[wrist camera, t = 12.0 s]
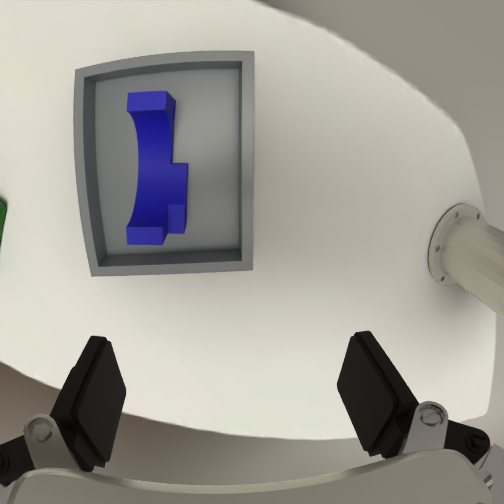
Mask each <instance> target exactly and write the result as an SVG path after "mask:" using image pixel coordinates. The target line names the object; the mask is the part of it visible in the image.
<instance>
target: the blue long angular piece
mask: <svg viewBox="0 0 504 504" xmlns="http://www.w3.org/2000/svg"><path fill="white" fill-rule="evenodd" d="M175 109H176V100H175V99H174V98H173V97H172V96H171V95H170V94H169V93H168V92H167V91H145V92H130V93H128V98H127V110H126V112H128V113H129V114H130V115H131V117H132V119H133V121H134V124H135V128H136V134H137V142H138V181H137V191H136V198H135V204H134V209H133V212H132V216H131V219H130V221H129V223H128V225H127V226H126V236H127V245H163V244H164V241H165V239H166V236H167V234H184V233H185V229H186V226H187V186H188V163H173V141H174V123H175Z"/></svg>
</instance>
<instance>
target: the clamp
mask: <svg viewBox="0 0 504 504" xmlns="http://www.w3.org/2000/svg"><path fill="white" fill-rule="evenodd" d="M5 213H6V207H5V205H4V204H3V203H2V202H1V201H0V239H1V233H2V228H3V222H4V217H5Z"/></svg>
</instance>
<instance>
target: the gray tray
mask: <svg viewBox="0 0 504 504" xmlns="http://www.w3.org/2000/svg"><path fill="white" fill-rule="evenodd" d="M145 91H167V92H168V93H169V94H170V95H171V96H172V97H173V98H174V99H175V100H176V109H175V123H174V141H173V163H188V186H187V226H186V229H185V233H184V234H167V236H166V239H165V241H164V244H163V245H127V236H126V226H127V225H128V223H129V221H130V219H131V216H132V212H133V209H134V204H135V198H136V191H137V181H138V142H137V134H136V128H135V124H134V121H133V119H132V117H131V115H130V114H129V113H128V112H126V110H127V98H128V93H130V92H145ZM73 121H74V155H75V170H76V182H77V192H78V201H79V209H80V216H81V223H82V229H83V235H84V241H85V247H86V252H87V257H88V262H89V267H90V271H91V276H127V275H157V274H182V273H206V272H227V271H247V270H253V172H254V51H193V52H178V53H166V54H157V55H149V56H141V57H134V58H128V59H122V60H116V61H111V62H106V63H101V64H97V65H92V66H88V67H84V68H80V69H76V70H75V83H74V116H73Z"/></svg>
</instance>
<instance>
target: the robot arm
mask: <svg viewBox="0 0 504 504" xmlns="http://www.w3.org/2000/svg"><path fill="white" fill-rule="evenodd" d="M429 268H430V272H431V274H432V276H433V277H434V279H435V280H436V281H438V282H439V283H440V284H442V285H445V286H451V285H455V284H457V283H458V284H459V285H461V286H462V287H463V288H465V289H466V290H467V291H469V292H470V293H471V294H473V295H474V296H475V297H477V298H478V299H479V300H480V301H482V302H483V303H484V304H486V305H487V306H488V307H489V308H491V309H492V310H493V311H494V312H496V313H497V314H498V315H499V316H501V317H502V318H503V319H504V232H503V231H501V230H499V229H497V228H495V227H493V226H491V225H489V224H487V223H484V220H483V217H482V215H481V213H480V212H479V210H478V209H477V208H475V207H474V206H471V205H469V204H459V205H457V206H455V207H453V208H452V209H450V210H449V211H448V212H447V213H446V214H445V215H444V216H443V218H442V219H441V221H440V222H439V224H438V226H437V228H436V230H435V232H434V234H433V237H432V240H431V244H430V248H429ZM337 389H338V392H339V394H340V396H341V399H342V401H343V403H344V405H345V408H346V410H347V412H348V415H349V417H350V419H351V422H352V424H353V426H354V429H355V431H356V433H357V436H358V438H359V440H360V443H361V445H362V447H363V450H364V451H368V453H369V456H375V455H378V454H381V455H382V457H383V460H382V461H378V462H375V463H372V464H368V465H364V466H360V467H356V468H352V469H348V470H344V471H340V472H335V473H331V474H326V475H320V476H315V477H309V478H303V479H297V480H290V481H282V482H273V483H263V484H250V485H228V486H227V485H226V486H201V485H200V486H199V485H177V484H164V483H153V482H146V481H138V480H131V479H124V478H117V477H112V476H106V475H101V474H96V473H93V472H92V471H93V469H94V466H98V467H103V468H104V467H105V463H106V462H108V461H109V460H110V457H111V452H112V448H113V443H114V439H115V435H116V431H117V427H118V423H119V419H120V415H121V412H122V408H123V404H124V400H125V397H126V387H125V384H124V382H123V379H122V376H121V373H120V370H119V367H118V364H117V361H116V357H115V354H114V351H113V347H112V344H111V342H110V341H107V339H106V337H101V336H91V337H90V338H89V340H88V342H87V344H86V346H85V348H84V350H83V352H82V354H81V356H80V357H79V359H78V361H77V363H76V365H75V366H74V367H73V368H72V369H71V371H70V373H69V375H68V377H67V379H66V381H65V383H64V385H63V387H62V390H61V392H60V394H59V396H58V398H57V400H56V402H55V405H54V407H53V409H52V411H51V414H50V416H48V415H44V414H39V415H35V416H33V417H31V418H30V419H29V420H28V421H27V422H26V424H25V425H24V429H23V432H24V435H22V436H20V437H18V438H15V439H13V440H11V441H8V442H6V443H4V444H1V445H0V504H504V449H502V448H501V447H499V446H498V445H496V444H493V445H490V439H489V437H488V435H487V434H486V433H485V432H484V431H482V430H480V429H477V428H474V427H470V426H467V425H464V424H460V423H457V422H454V421H451V420H448V414H447V411H446V410H445V408H444V407H443V406H442V405H440V404H438V403H436V402H432V401H426V402H423V403H420V404H419V402H418V401H417V399H416V398H415V396H414V395H413V393H412V392H411V390H410V389H409V387H408V386H407V384H406V383H405V381H404V380H403V378H402V377H401V375H400V374H399V372H398V371H397V369H396V368H395V366H394V365H393V363H392V362H391V360H390V359H389V357H388V356H387V355H386V353H385V352H384V350H383V349H382V347H381V346H380V344H379V343H378V342H377V340H376V339H375V337H374V336H373V334H372V333H371V332H370V331H362V332H356V333H355V334H354V336H351V338H350V341H349V344H348V348H347V352H346V355H345V358H344V362H343V365H342V368H341V372H340V375H339V378H338V381H337Z"/></svg>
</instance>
